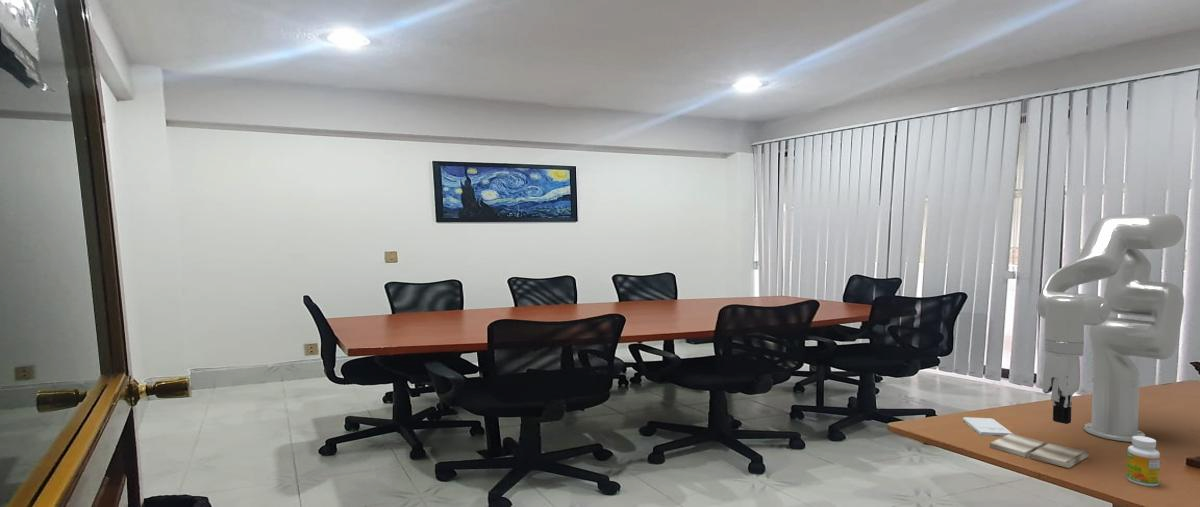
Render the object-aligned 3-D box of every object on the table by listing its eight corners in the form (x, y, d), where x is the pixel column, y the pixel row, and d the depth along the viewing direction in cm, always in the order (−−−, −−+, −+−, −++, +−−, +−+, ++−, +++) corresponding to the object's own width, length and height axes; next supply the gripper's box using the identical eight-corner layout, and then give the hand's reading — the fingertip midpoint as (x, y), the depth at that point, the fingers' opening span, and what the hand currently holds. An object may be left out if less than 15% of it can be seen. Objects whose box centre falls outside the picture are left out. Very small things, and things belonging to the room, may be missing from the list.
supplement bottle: (1120, 477, 137) (1121, 435, 137) (1141, 476, 138) (1143, 434, 137) (1143, 487, 132) (1144, 443, 132) (1165, 486, 133) (1167, 442, 132)
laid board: (1010, 437, 163) (1010, 433, 163) (1048, 447, 156) (1048, 442, 156) (989, 447, 156) (989, 442, 156) (1027, 458, 149) (1027, 453, 149)
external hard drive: (993, 423, 176) (1014, 439, 164) (962, 422, 177) (980, 437, 165) (993, 418, 176) (1014, 433, 164) (962, 417, 177) (980, 431, 165)
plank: (1049, 447, 155) (1049, 442, 155) (1088, 456, 149) (1088, 450, 149) (1029, 458, 149) (1029, 452, 149) (1068, 468, 142) (1068, 462, 142)
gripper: (1057, 341, 154) (1055, 412, 155) (1033, 349, 146) (1031, 424, 147) (1093, 346, 148) (1091, 420, 149) (1071, 354, 140) (1069, 432, 141)
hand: (1061, 421), depth 148 cm, fingers closed
